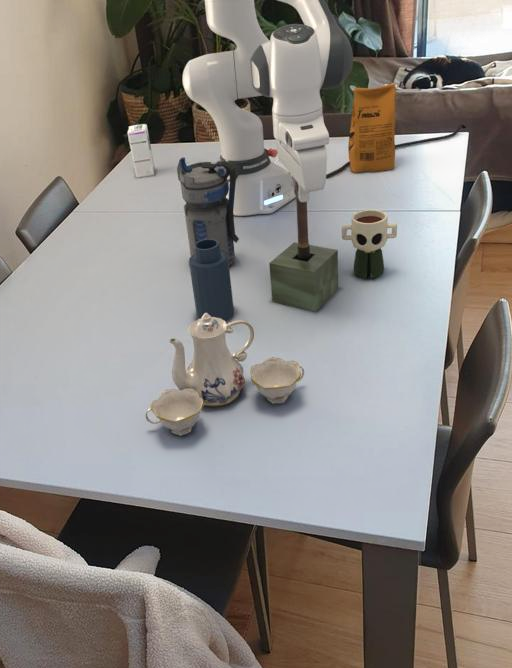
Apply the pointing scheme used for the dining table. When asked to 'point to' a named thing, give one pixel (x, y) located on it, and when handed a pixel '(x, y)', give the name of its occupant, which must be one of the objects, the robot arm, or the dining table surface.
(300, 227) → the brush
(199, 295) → the steel bottle
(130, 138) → the syrup box
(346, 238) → the character mug
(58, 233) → the dining table surface
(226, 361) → the chinaware
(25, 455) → the dining table surface
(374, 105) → the coffee package
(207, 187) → the beverage bottle
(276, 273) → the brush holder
